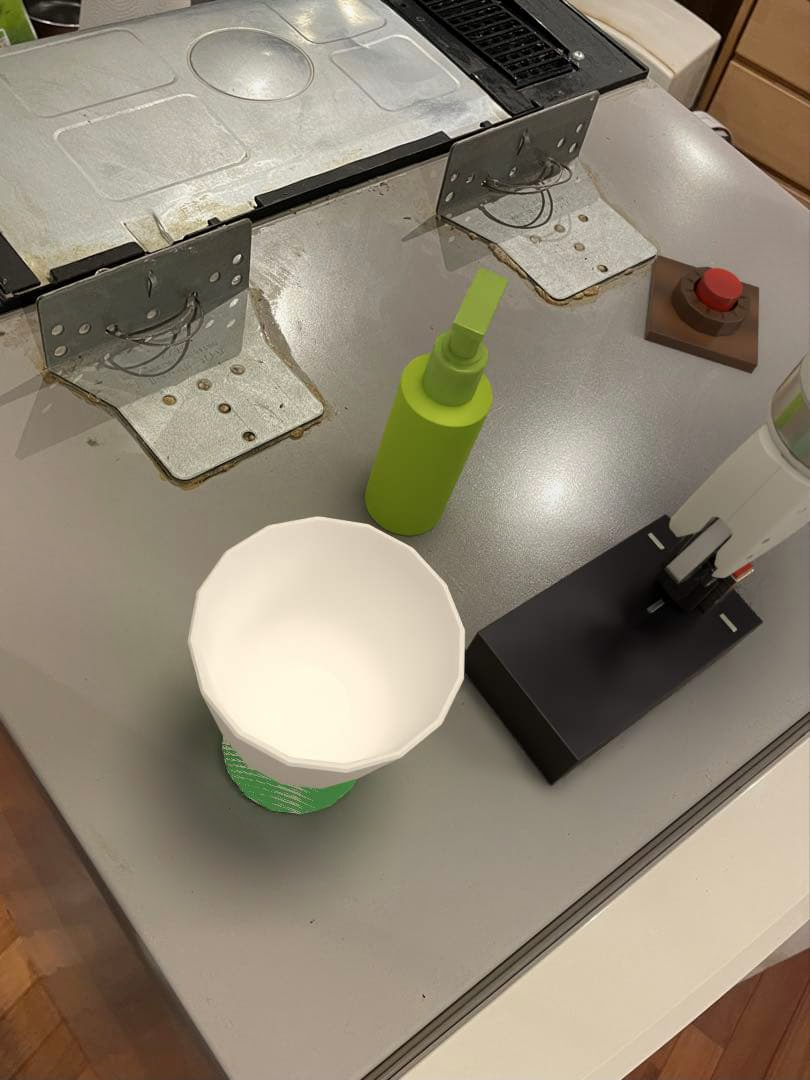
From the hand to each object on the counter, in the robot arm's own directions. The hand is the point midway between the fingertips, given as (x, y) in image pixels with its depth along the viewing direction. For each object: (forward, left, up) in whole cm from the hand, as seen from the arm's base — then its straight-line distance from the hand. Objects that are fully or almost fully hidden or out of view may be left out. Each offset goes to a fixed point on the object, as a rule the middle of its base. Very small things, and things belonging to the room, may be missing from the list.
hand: (689, 582), depth 68 cm
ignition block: (-13, -29, -5) cm, 32 cm away
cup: (+27, +7, -5) cm, 29 cm away
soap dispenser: (+17, -11, -5) cm, 21 cm away
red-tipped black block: (0, 0, 0) cm, 0 cm away
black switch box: (+5, +3, -5) cm, 8 cm away
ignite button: (-13, -29, -3) cm, 32 cm away
